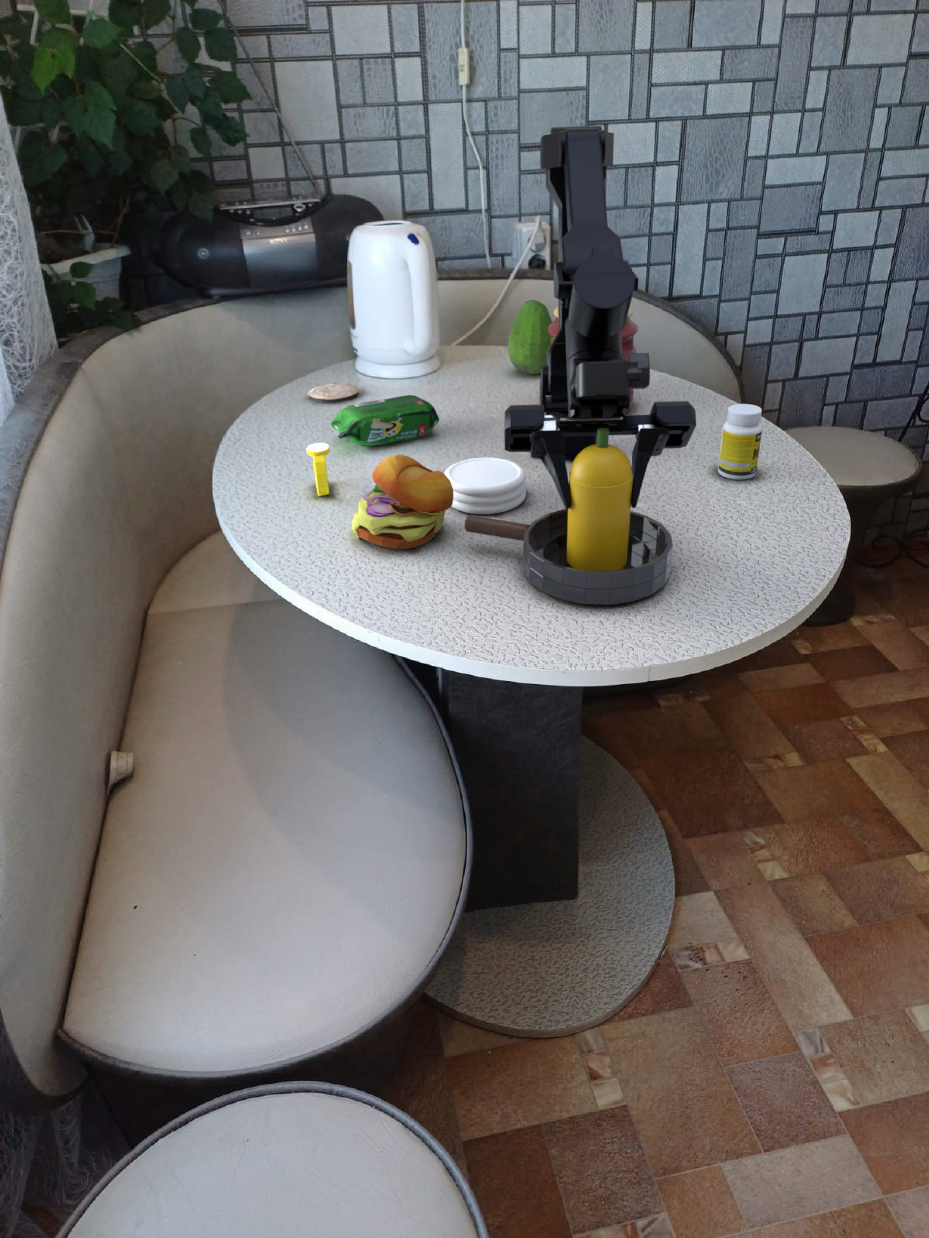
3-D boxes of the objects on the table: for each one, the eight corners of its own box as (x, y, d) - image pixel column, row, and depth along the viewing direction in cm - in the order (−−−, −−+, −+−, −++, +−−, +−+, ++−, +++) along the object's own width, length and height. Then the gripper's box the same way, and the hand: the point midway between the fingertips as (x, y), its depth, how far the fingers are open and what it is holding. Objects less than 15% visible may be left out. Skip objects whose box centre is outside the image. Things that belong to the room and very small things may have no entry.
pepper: (554, 559, 97) (557, 429, 90) (594, 540, 101) (600, 413, 93) (598, 580, 93) (605, 447, 86) (639, 559, 97) (649, 429, 89)
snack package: (326, 440, 132) (321, 405, 130) (427, 421, 138) (425, 386, 135) (342, 457, 127) (338, 421, 124) (447, 436, 132) (445, 401, 130)
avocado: (542, 383, 151) (543, 307, 145) (500, 377, 155) (499, 302, 149) (563, 369, 157) (565, 296, 151) (522, 364, 161) (522, 292, 154)
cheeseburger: (350, 516, 110) (364, 437, 106) (438, 530, 112) (456, 453, 107) (348, 555, 102) (363, 470, 97) (444, 569, 104) (463, 487, 99)
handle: (464, 534, 101) (464, 519, 100) (471, 527, 102) (470, 512, 101) (525, 544, 98) (525, 529, 97) (531, 537, 100) (531, 521, 99)
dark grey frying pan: (502, 592, 94) (501, 557, 92) (551, 530, 106) (552, 498, 104) (648, 620, 89) (651, 584, 87) (683, 552, 101) (686, 518, 99)
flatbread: (350, 384, 153) (349, 378, 153) (365, 397, 148) (364, 391, 147) (302, 392, 151) (301, 386, 150) (315, 405, 145) (314, 399, 144)
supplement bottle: (756, 481, 116) (766, 416, 111) (717, 479, 117) (725, 414, 112) (754, 466, 120) (763, 403, 115) (716, 464, 121) (724, 401, 116)
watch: (310, 483, 120) (304, 439, 116) (332, 480, 120) (327, 436, 117) (313, 502, 115) (307, 456, 111) (335, 499, 115) (330, 454, 112)
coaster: (514, 520, 109) (514, 492, 107) (433, 511, 111) (431, 484, 109) (534, 486, 117) (534, 459, 115) (458, 478, 119) (457, 452, 118)
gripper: (503, 323, 88) (507, 479, 85) (702, 318, 88) (714, 474, 84) (503, 379, 99) (506, 519, 96) (680, 375, 98) (689, 515, 95)
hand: (600, 507), depth 92 cm, fingers closed on pepper, 6 cm apart
